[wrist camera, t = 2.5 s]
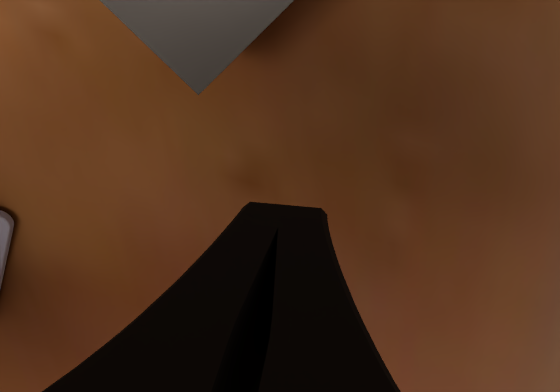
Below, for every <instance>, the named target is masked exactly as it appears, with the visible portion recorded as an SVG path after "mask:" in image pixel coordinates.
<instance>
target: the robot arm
mask: <svg viewBox="0 0 560 392" xmlns="http://www.w3.org/2000/svg"><path fill="white" fill-rule="evenodd" d="M13 228H14V221H13V219H12V217H11V216H10V215H9V214H7V213H6V212H4V211H1V210H0V289H1V284H2V280H3V275H4V270H5V265H6V261H7V256H8V251H9V247H10V242H11V237H12V232H13ZM42 392H400V390H399V388H398V387H397V385H396V383H395V382H394V380H393V378H392V376H391V375H390V373H389V371H388V369H387V367H386V366H385V364H384V362H383V360H382V358H381V356H380V354H379V352H378V351H377V349H376V347H375V345H374V343H373V341H372V339H371V337H370V335H369V333H368V331H367V329H366V327H365V325H364V323H363V321H362V318H361V316H360V314H359V312H358V310H357V307H356V305H355V303H354V301H353V298H352V296H351V293H350V291H349V288H348V286H347V284H346V281H345V279H344V276H343V274H342V271H341V268H340V266H339V263H338V260H337V257H336V254H335V250H334V247H333V244H332V240H331V237H330V232H329V227H328V221H327V214H326V213H325V212H324V211H323V210H322V209H321V208H313V207H301V206H290V205H279V204H268V203H257V202H249V203H248V204H247V205H245V206H244V207H243V208H242V209H241V211H240V212H239V213H238V214H237V216H236V217H235V218H234V219H233V220H232V222H231V223H230V224H229V225H228V226H227V228H226V229H225V230H224V231H223V232H222V233H221V234H220V236H219V237H218V238H217V239H216V240H215V241H214V242H213V243H212V245H211V246H210V247H209V248H208V249H207V250H206V251H205V252H204V253H203V254H202V255H201V256H200V257H199V258H198V259H197V260H196V261H195V263H194V264H193V265H192V266H191V267H190V268H189V269H188V270H187V271H186V272H185V273H184V274H183V275H182V276H181V277H180V278H179V279H178V280H177V281H176V282H175V283H174V284H173V285H172V286H171V287H170V288H168V289H167V290H166V291H165V292H164V293H163V294H162V295H161V296H160V297H159V298H158V299H157V300H156V301H154V302H153V303H152V304H151V305H150V306H149V307H148V308H147V309H146V310H145V311H144V312H143V313H142V314H140V315H139V316H138V317H137V318H136V319H135V320H134V321H132V322H131V323H130V324H129V325H128V326H127V327H125V328H124V329H123V330H122V331H121V332H120V333H118V334H117V335H116V336H115V337H113V338H112V339H111V340H110V341H109V342H107V343H106V344H105V345H104V346H102V347H101V348H100V349H99V350H97V351H96V352H95V353H93V354H92V355H91V356H90V357H88V358H87V359H86V360H85V361H83V362H82V363H81V364H79V365H78V366H77V367H75V368H74V369H73V370H71V371H70V372H69V373H67V374H66V375H64V376H63V377H62V378H60V379H59V380H57V381H56V382H55V383H53V384H52V385H51V386H49V387H48V388H46V389H45V390H44V391H42Z"/></svg>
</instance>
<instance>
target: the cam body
mask: <svg viewBox="0 0 560 392" xmlns="http://www.w3.org/2000/svg"><path fill="white" fill-rule="evenodd" d="M100 1H101V2H102V3H103V4H104V5H105V6H106V7H107V8H108V9H109V10H110V11H111V12H113V13H114V14H115V15H116V16H117V17H118V18H119V19H120V20H121V21H122V22H123V23H124V24H125V25H126V26H127V27H128V28H129V29H130V30H131V31H132V32H133V33H134V34H135V35H136V36H138V37H139V38H140V39H141V40H142V41H143V42H144V43H145V44H146V45H147V46H148V47H149V48H150V49H151V50H152V51H153V52H154V53H155V54H156V55H157V56H158V57H159V58H160V59H161V60H162V61H164V62H165V63H166V64H167V65H168V66H169V67H170V68H171V69H172V70H173V71H174V72H175V73H176V74H177V75H178V76H179V77H180V78H181V79H182V80H183V81H184V82H185V83H186V84H187V85H189V86H190V87H191V88H192V89H193V90H194V91H195V92H196V93H197V94H198V95H199V94H200V93H201V92H202V91H203V90H204V89H205V88H206V87H207V86H208V85H209V84H210V83H211V82H212V81H213V80H214V79H215V78H216V77H217V76H218V75H219V74H220V73H221V72H222V71H223V70H224V69H225V68H226V67H227V66H228V65H229V64H230V63H231V62H232V61H233V60H234V59H235V58H236V57H237V56H238V55H239V54H240V53H241V52H242V51H243V50H244V49H245V48H246V47H247V46H248V45H249V44H250V43H251V42H252V41H253V40H254V39H255V38H256V37H257V36H258V35H259V34H261V33H262V32H263V31H264V30H265V29H266V28H267V27H268V26H269V25H270V24H271V23H272V22H273V21H274V20H275V19H276V18H277V17H278V16H279V15H280V14H281V13H282V12H283V11H284V10H285V9H286V8H287V7H288V6H289V5H290V4H291V3H292V2H293V1H294V0H100Z"/></svg>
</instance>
